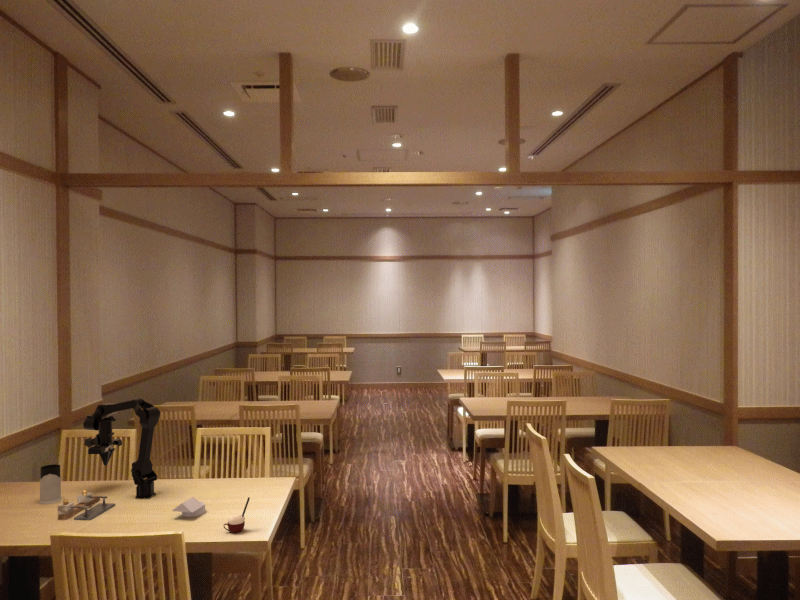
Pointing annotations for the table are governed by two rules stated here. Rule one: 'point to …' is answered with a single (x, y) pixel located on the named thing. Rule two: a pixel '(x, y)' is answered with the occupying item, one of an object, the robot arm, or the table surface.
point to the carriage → (88, 497)
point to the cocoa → (236, 521)
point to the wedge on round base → (191, 507)
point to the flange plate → (95, 511)
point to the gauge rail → (76, 510)
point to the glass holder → (50, 484)
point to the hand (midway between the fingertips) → (105, 465)
